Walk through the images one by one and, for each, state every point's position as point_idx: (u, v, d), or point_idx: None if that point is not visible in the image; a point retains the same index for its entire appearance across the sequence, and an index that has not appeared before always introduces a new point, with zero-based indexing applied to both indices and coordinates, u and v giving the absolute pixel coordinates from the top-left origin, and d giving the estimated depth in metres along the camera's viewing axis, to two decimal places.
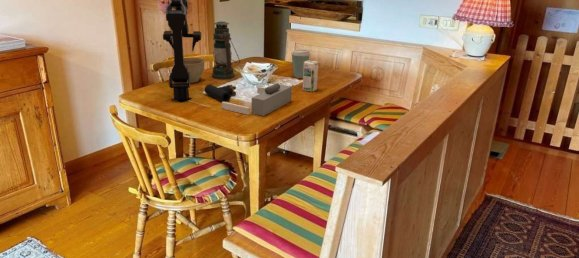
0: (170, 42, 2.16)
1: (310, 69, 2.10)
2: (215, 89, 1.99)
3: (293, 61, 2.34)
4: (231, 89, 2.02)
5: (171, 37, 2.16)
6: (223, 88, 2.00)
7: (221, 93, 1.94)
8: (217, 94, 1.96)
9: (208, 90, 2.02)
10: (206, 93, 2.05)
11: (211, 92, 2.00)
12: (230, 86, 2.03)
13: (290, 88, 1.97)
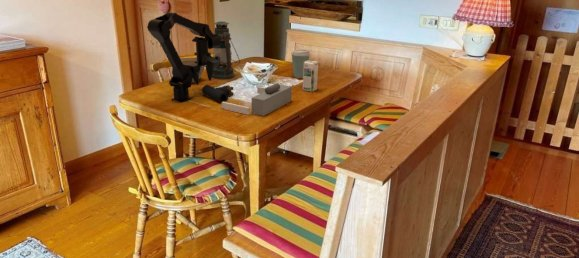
0: None
1: (310, 69, 2.10)
2: (212, 90, 1.98)
3: (293, 61, 2.34)
4: (228, 90, 2.01)
5: None
6: (220, 89, 2.00)
7: (218, 94, 1.94)
8: (214, 95, 1.95)
9: (205, 91, 2.01)
10: None
11: (208, 93, 1.99)
12: (227, 87, 2.02)
13: (290, 88, 1.97)
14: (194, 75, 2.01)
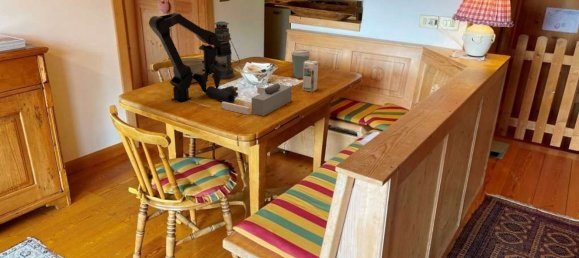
0: None
1: (310, 69, 2.10)
2: (218, 91, 1.96)
3: (293, 61, 2.34)
4: (233, 90, 2.01)
5: None
6: (226, 89, 1.99)
7: (226, 94, 1.93)
8: (221, 96, 1.94)
9: (210, 92, 1.99)
10: (207, 95, 2.02)
11: (214, 94, 1.97)
12: (232, 87, 2.01)
13: (290, 88, 1.97)
14: (202, 83, 2.00)
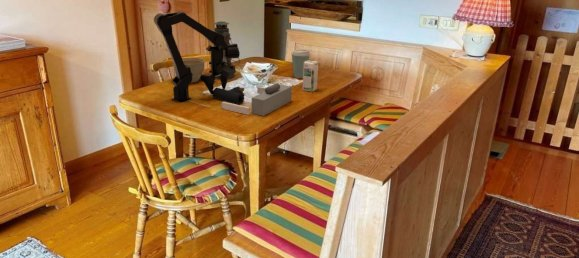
0: None
1: (310, 69, 2.10)
2: (227, 92, 1.95)
3: (293, 61, 2.34)
4: (241, 91, 2.00)
5: None
6: (233, 90, 1.98)
7: (236, 95, 1.92)
8: (231, 97, 1.93)
9: (218, 93, 1.97)
10: (214, 97, 2.00)
11: (222, 95, 1.96)
12: (239, 88, 2.01)
13: (290, 88, 1.97)
14: (209, 85, 1.98)
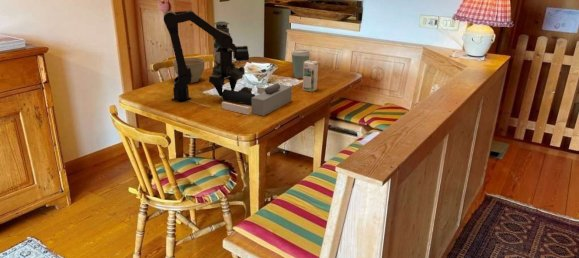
0: None
1: (310, 69, 2.10)
2: (238, 93, 1.94)
3: (293, 61, 2.34)
4: (249, 91, 2.00)
5: None
6: (243, 91, 1.97)
7: (249, 96, 1.92)
8: (243, 98, 1.92)
9: (228, 95, 1.95)
10: (223, 99, 1.97)
11: (233, 97, 1.94)
12: (247, 88, 2.00)
13: (290, 88, 1.97)
14: (218, 86, 1.96)
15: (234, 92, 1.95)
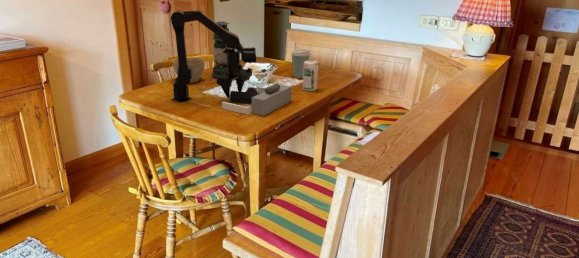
0: None
1: (310, 69, 2.10)
2: (247, 94, 1.94)
3: (293, 61, 2.34)
4: (255, 91, 2.00)
5: None
6: (251, 91, 1.97)
7: None
8: None
9: (236, 96, 1.94)
10: (231, 100, 1.96)
11: (242, 97, 1.93)
12: (253, 88, 2.00)
13: (290, 88, 1.97)
14: (225, 88, 1.94)
15: (242, 93, 1.94)
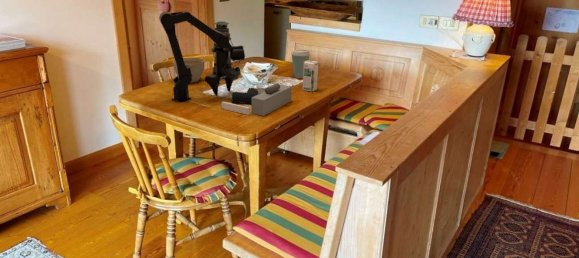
0: None
1: (310, 69, 2.10)
2: (249, 94, 1.93)
3: (293, 61, 2.34)
4: (256, 91, 2.00)
5: None
6: (253, 92, 1.96)
7: None
8: None
9: (239, 97, 1.93)
10: (233, 101, 1.94)
11: (245, 98, 1.93)
12: (254, 89, 2.00)
13: (290, 88, 1.97)
14: (213, 86, 1.97)
15: (245, 94, 1.93)
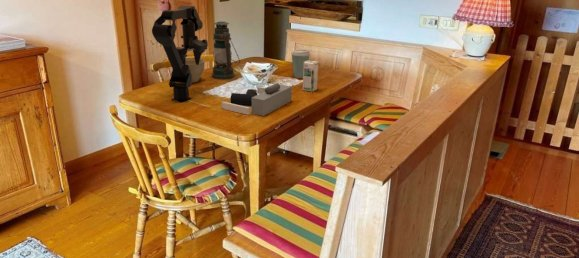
0: None
1: (310, 69, 2.10)
2: (248, 96, 1.91)
3: (293, 61, 2.34)
4: (256, 93, 1.98)
5: None
6: (252, 93, 1.95)
7: None
8: None
9: (237, 99, 1.91)
10: (232, 103, 1.93)
11: (243, 100, 1.91)
12: (253, 90, 1.98)
13: (290, 88, 1.97)
14: (181, 59, 1.98)
15: (243, 95, 1.92)
